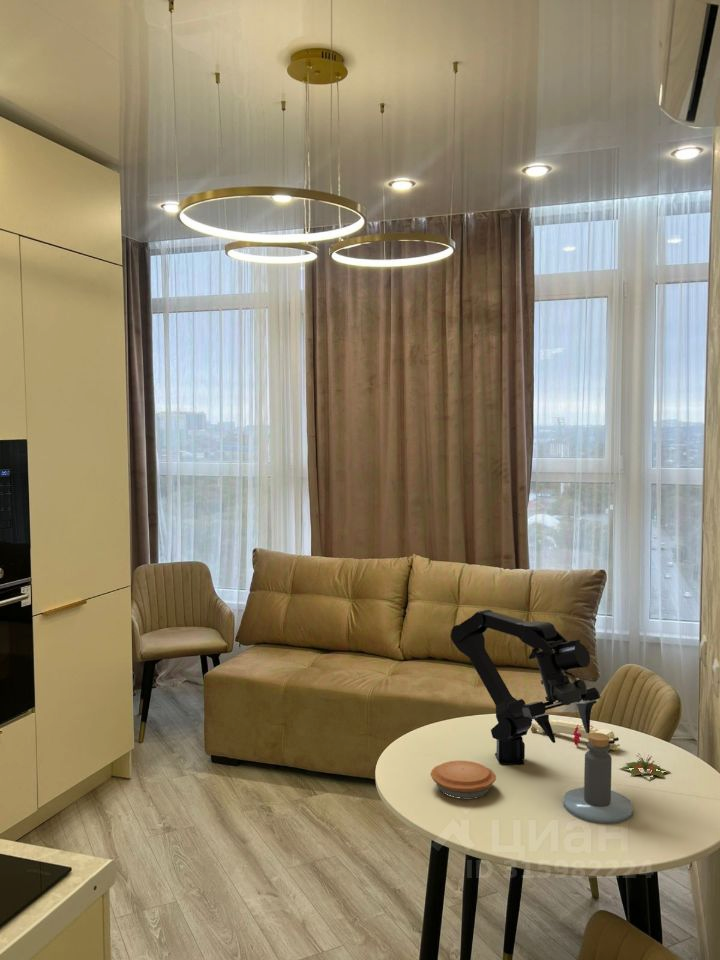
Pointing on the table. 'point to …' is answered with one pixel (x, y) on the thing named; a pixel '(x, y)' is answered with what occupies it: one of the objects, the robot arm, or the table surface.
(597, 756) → the bottle
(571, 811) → the dish
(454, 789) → the pie
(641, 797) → the table surface
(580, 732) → the cat figure
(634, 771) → the lily flower
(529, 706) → the robot arm
